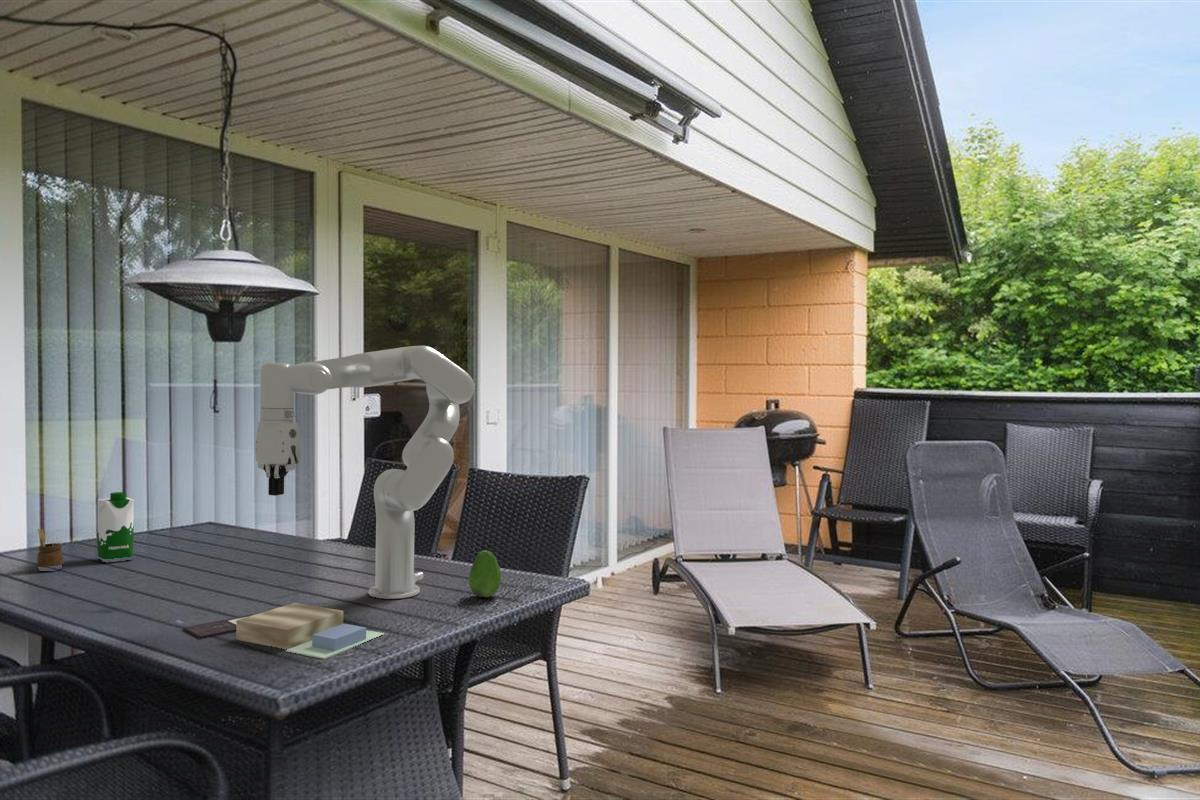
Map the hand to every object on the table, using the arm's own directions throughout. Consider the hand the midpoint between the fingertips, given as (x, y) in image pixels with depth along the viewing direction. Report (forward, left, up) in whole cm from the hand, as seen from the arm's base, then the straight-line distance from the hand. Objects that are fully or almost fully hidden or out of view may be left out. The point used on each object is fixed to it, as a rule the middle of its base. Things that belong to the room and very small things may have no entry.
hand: (276, 494), depth 194 cm
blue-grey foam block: (+12, +31, -24) cm, 41 cm away
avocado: (-34, +36, -27) cm, 57 cm away
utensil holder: (-1, -84, -27) cm, 88 cm away
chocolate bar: (+13, +2, -28) cm, 31 cm away
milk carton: (-18, -81, -27) cm, 87 cm away
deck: (+12, +17, -27) cm, 34 cm away
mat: (+12, +30, -27) cm, 42 cm away
